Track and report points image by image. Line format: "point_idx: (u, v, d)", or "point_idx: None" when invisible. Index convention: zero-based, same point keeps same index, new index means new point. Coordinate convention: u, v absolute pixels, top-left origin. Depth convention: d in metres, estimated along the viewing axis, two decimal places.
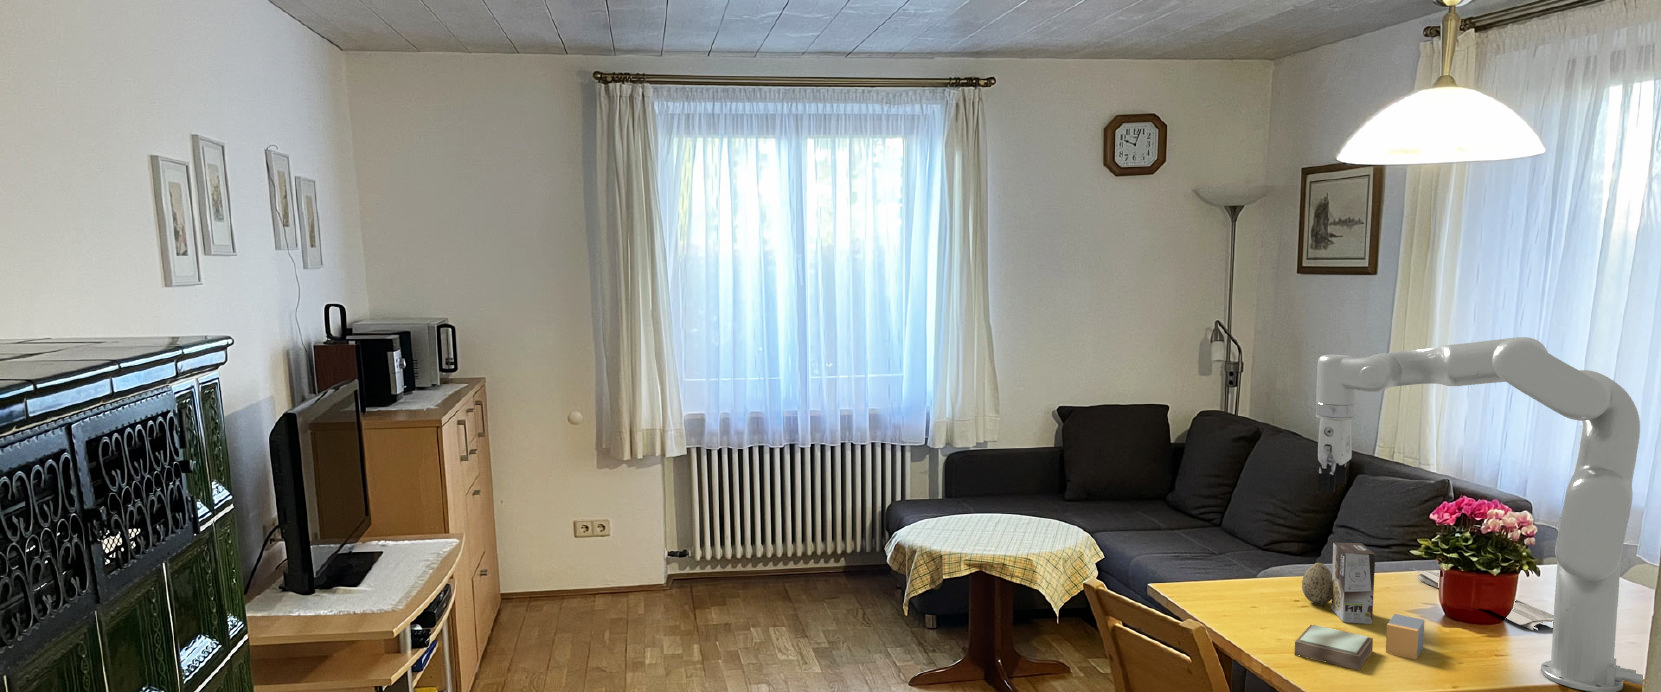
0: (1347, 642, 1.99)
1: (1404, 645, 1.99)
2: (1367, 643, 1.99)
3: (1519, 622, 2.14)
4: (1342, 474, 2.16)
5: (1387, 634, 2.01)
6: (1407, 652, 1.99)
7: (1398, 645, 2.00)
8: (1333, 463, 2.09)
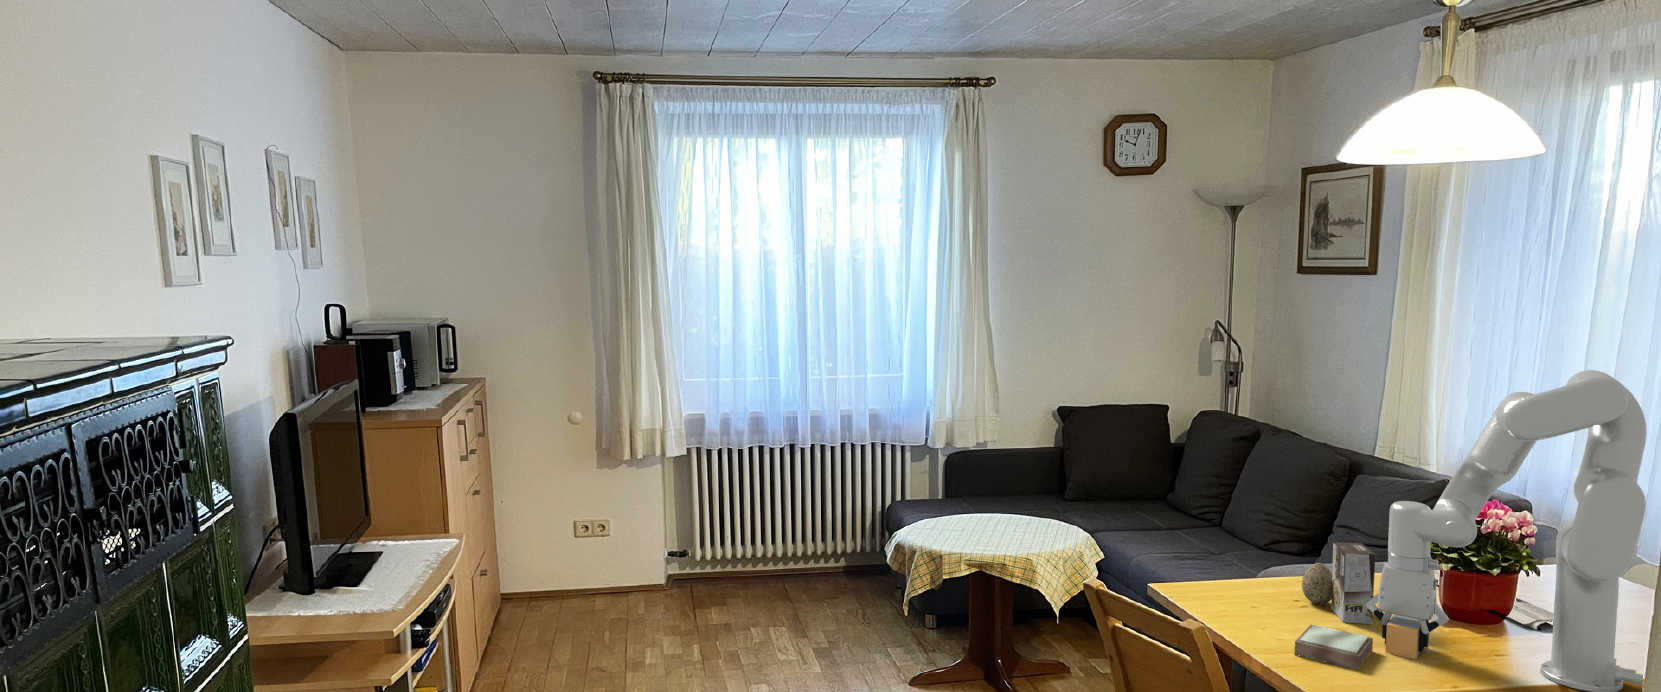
0: (1347, 642, 1.99)
1: (1404, 645, 1.99)
2: (1367, 643, 1.99)
3: (1523, 621, 2.14)
4: None
5: (1387, 634, 2.01)
6: (1407, 652, 1.99)
7: (1398, 645, 2.00)
8: None
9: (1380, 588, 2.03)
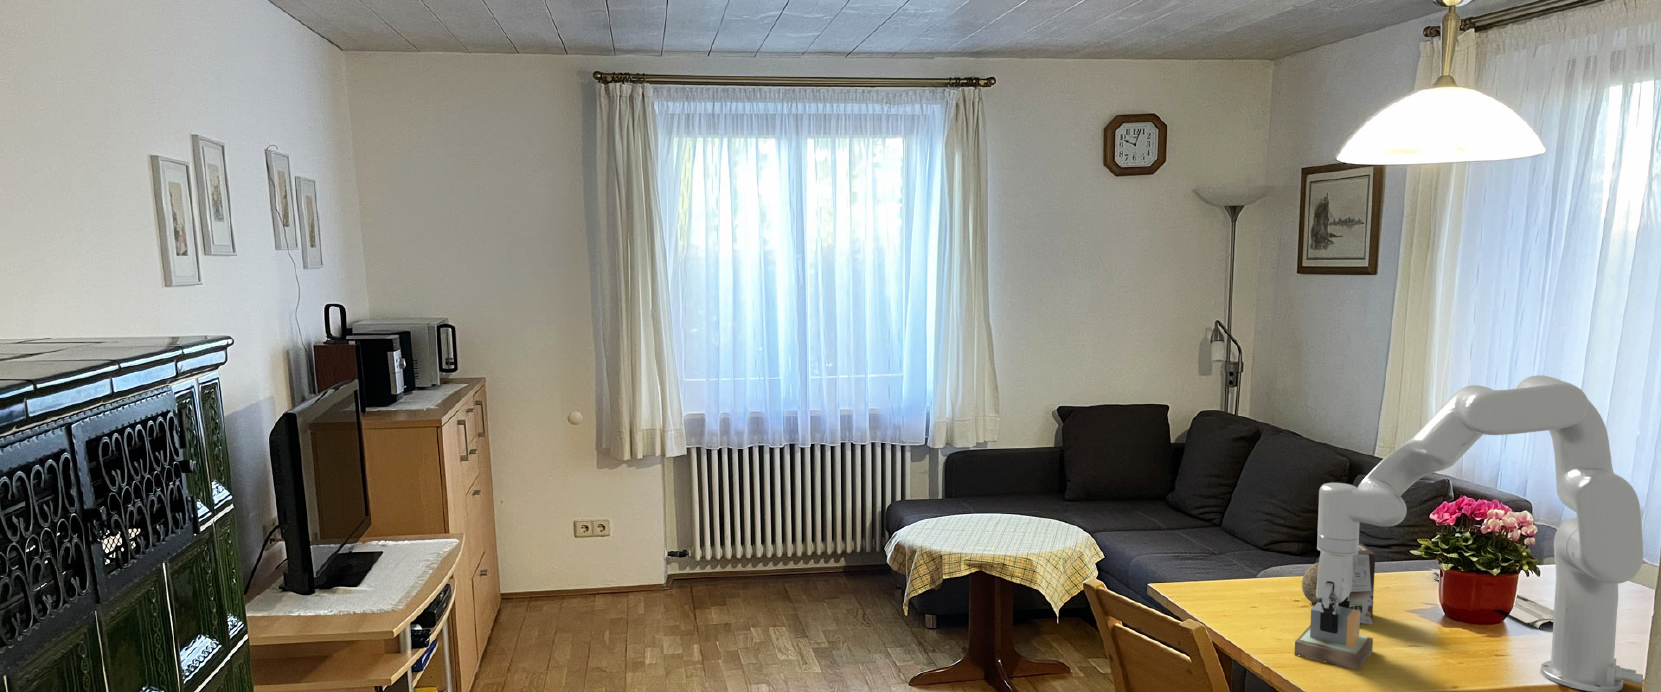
0: None
1: (1357, 630, 1.99)
2: (1367, 643, 1.99)
3: (1526, 620, 2.15)
4: None
5: (1353, 627, 1.96)
6: (1357, 636, 1.99)
7: (1355, 633, 1.98)
8: None
9: (1341, 580, 1.95)
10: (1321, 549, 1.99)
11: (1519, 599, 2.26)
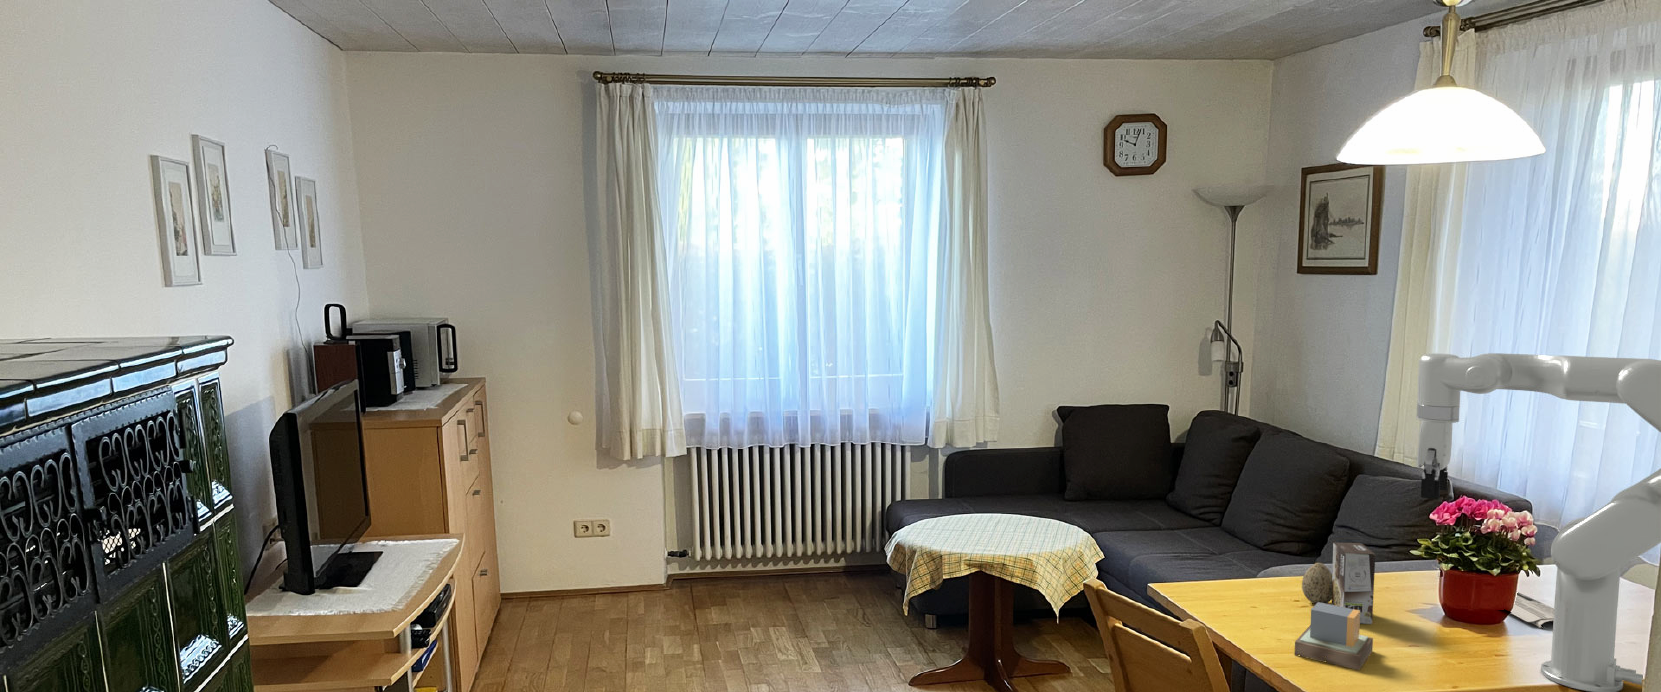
0: None
1: (1357, 630, 1.99)
2: (1367, 643, 1.99)
3: (1527, 619, 2.15)
4: None
5: (1353, 627, 1.96)
6: (1357, 636, 1.99)
7: (1355, 633, 1.98)
8: None
9: (1443, 446, 1.97)
10: (1422, 418, 2.01)
11: (1523, 599, 2.26)
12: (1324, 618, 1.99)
